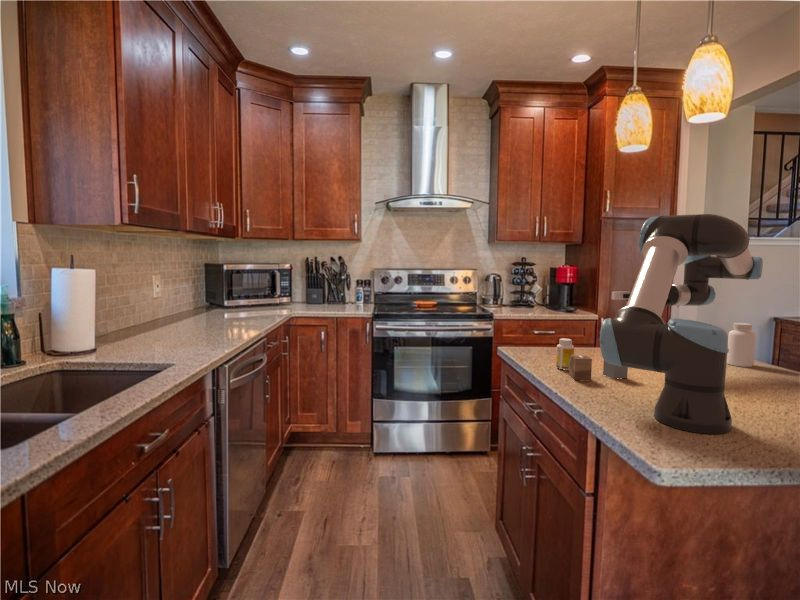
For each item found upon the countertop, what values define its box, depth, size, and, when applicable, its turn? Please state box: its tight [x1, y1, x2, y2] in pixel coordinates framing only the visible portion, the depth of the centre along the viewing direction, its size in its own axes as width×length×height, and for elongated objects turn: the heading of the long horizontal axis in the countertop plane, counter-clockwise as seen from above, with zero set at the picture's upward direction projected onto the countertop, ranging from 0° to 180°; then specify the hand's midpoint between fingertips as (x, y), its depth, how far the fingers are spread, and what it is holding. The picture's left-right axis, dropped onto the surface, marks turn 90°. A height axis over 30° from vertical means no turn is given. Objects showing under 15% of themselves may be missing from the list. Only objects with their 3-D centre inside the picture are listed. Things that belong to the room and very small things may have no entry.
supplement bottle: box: [555, 337, 575, 371], centre depth 156 cm, size 6×6×10 cm
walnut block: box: [568, 354, 593, 381], centre depth 143 cm, size 5×5×7 cm
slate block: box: [602, 359, 629, 380], centre depth 146 cm, size 5×5×7 cm
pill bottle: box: [726, 322, 757, 368], centre depth 165 cm, size 8×8×15 cm
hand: (613, 295), depth 157 cm, fingers closed
